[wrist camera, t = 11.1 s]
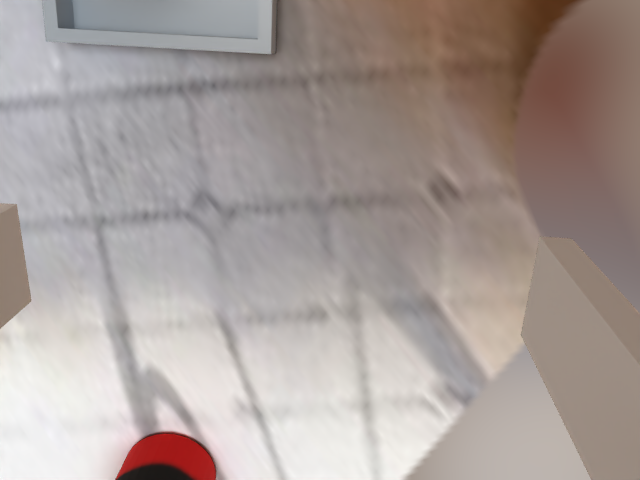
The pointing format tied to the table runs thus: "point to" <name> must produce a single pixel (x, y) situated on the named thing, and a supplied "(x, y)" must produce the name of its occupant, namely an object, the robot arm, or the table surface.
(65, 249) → the table surface
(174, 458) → the soda can
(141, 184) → the table surface
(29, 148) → the table surface
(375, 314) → the table surface
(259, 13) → the tray
